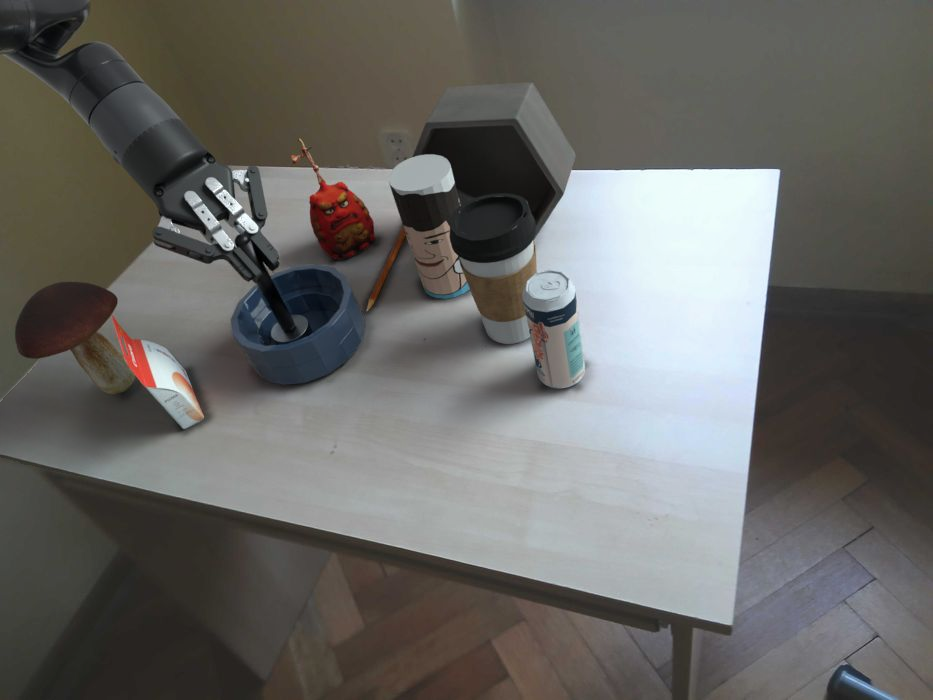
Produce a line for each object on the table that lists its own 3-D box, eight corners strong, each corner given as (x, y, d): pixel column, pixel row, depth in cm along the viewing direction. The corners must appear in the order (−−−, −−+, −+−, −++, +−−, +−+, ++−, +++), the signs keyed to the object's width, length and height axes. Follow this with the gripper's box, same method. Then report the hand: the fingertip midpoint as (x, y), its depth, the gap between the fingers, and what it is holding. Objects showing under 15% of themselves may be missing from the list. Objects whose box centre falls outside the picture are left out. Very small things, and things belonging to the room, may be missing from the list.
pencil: (413, 220, 95) (412, 216, 95) (370, 313, 84) (368, 309, 83) (408, 220, 95) (407, 216, 95) (364, 313, 84) (362, 309, 83)
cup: (414, 277, 87) (378, 172, 76) (462, 253, 88) (434, 147, 77) (437, 306, 82) (402, 199, 71) (487, 281, 83) (461, 172, 73)
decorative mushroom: (122, 349, 89) (45, 255, 79) (187, 358, 84) (113, 260, 74) (61, 417, 82) (-32, 324, 72) (127, 431, 78) (37, 334, 67)
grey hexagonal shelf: (388, 217, 88) (442, 80, 72) (408, 181, 93) (463, 45, 77) (509, 277, 90) (588, 157, 74) (523, 239, 95) (599, 118, 79)
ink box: (186, 370, 83) (135, 299, 75) (206, 419, 77) (152, 348, 69) (163, 382, 83) (109, 312, 74) (181, 433, 76) (123, 362, 68)
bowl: (259, 404, 77) (235, 367, 73) (249, 326, 86) (227, 290, 82) (377, 360, 78) (360, 321, 74) (354, 288, 87) (338, 250, 83)
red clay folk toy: (336, 270, 91) (292, 169, 80) (314, 246, 95) (270, 148, 85) (386, 242, 93) (350, 140, 82) (362, 220, 97) (325, 121, 87)
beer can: (539, 356, 73) (523, 268, 65) (586, 354, 72) (575, 265, 64) (536, 392, 70) (518, 304, 62) (585, 391, 69) (573, 301, 61)
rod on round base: (279, 359, 80) (219, 254, 70) (275, 334, 83) (217, 231, 73) (316, 345, 81) (262, 239, 70) (311, 321, 84) (258, 216, 73)
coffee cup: (538, 357, 73) (516, 244, 63) (463, 347, 77) (431, 237, 66) (560, 302, 78) (544, 188, 68) (489, 294, 82) (463, 184, 71)
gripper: (86, 160, 65) (216, 303, 67) (208, 89, 71) (324, 223, 72) (95, 193, 72) (212, 322, 73) (205, 127, 78) (312, 248, 79)
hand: (267, 272), depth 73 cm, fingers closed on rod on round base
